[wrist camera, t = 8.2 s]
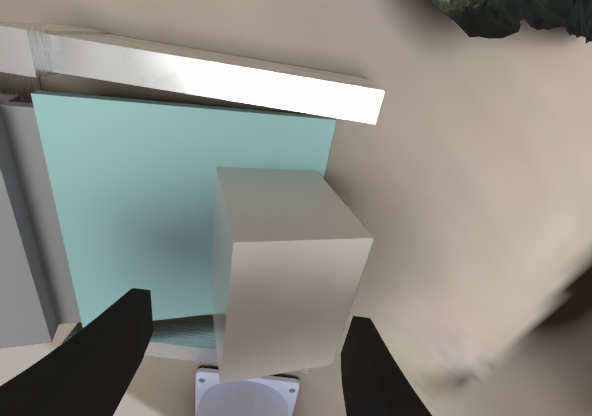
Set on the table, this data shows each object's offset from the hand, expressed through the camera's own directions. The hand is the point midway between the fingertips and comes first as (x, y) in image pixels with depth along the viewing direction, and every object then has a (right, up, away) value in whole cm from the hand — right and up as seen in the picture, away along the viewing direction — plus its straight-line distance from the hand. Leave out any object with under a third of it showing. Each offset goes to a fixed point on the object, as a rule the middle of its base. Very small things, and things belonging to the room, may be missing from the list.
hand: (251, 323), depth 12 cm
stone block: (0, +3, +6) cm, 6 cm away
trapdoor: (-6, +4, +5) cm, 9 cm away
